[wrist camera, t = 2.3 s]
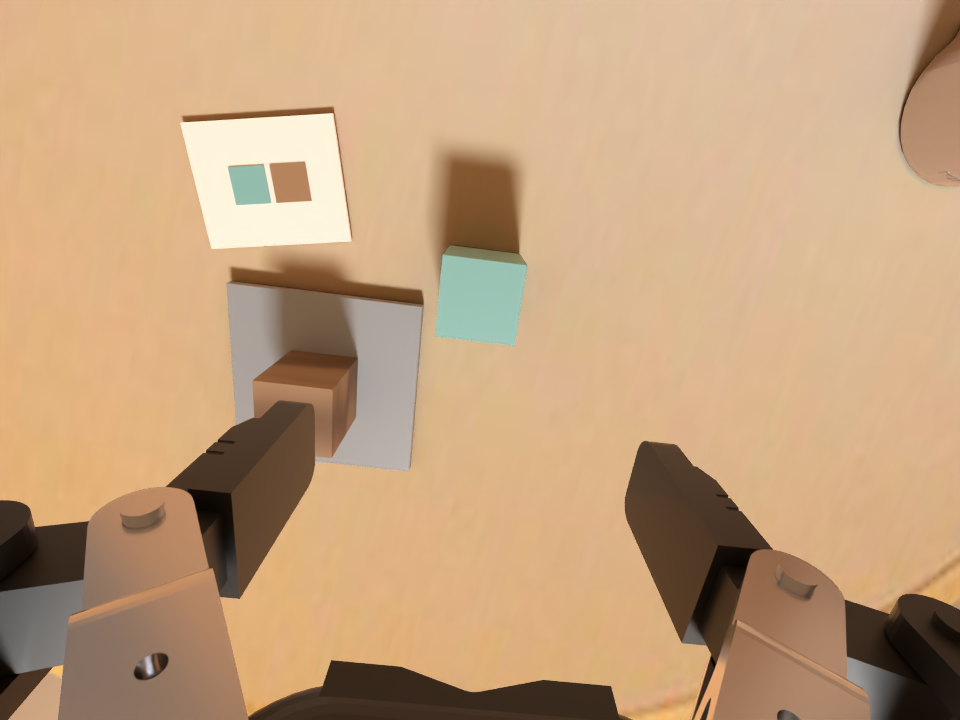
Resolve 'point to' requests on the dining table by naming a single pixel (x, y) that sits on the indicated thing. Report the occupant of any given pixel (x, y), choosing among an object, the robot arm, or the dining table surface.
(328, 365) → the walnut brick
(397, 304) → the plate
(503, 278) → the teal brick
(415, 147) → the dining table surface
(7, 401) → the dining table surface
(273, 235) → the page
